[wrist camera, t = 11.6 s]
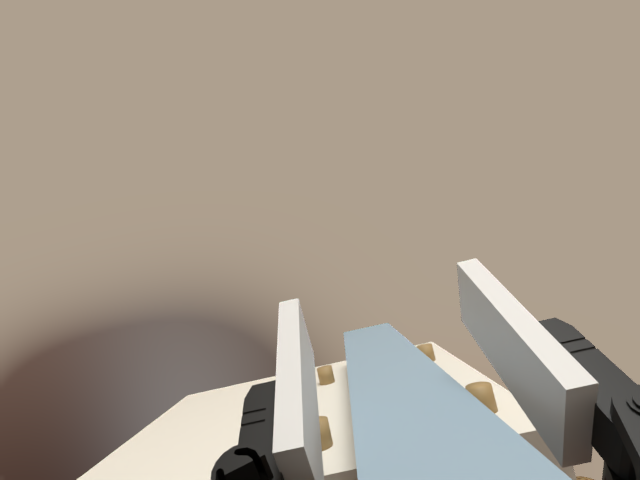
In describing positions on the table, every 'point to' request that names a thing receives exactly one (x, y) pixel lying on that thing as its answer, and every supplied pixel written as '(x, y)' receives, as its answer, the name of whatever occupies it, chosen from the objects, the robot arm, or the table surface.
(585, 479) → the natural sponge
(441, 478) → the batten
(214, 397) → the plinth
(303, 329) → the robot arm
